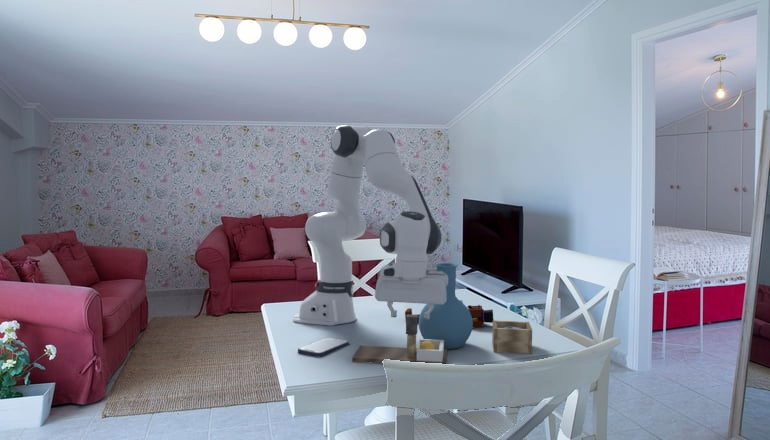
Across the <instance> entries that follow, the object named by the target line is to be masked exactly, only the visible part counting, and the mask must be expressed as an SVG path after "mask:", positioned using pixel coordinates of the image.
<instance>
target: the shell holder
mask: <svg viewBox="0 0 770 440" xmlns="http://www.w3.org/2000/svg"><path fill="white" fill-rule="evenodd" d="M508 326H512V327H516V328H517V327H520V328H525V329H509V328H504V327H508ZM491 340H492V341H491V342H492V349H493V353H506V354H507V353H508V354H528V355H532V353H533V352H532V350H533V329H532V326H531V324H530V322H529V321H519V320H518V321H515V320H493V323H492V339H491Z"/></svg>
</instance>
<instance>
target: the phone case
mask: <svg viewBox="0 0 770 440" xmlns="http://www.w3.org/2000/svg"><path fill="white" fill-rule="evenodd" d="M349 345H350V341H348V340H345V339H341V338H332V337H325V338H322V339H319V340H317V341H314V342H311V343H308V344H306V345H304V346H301V347H298V349H297V353H298V354H300V355H304V356H305V355H306V356H309V357H315V358H322V357H325V356H327V355H329V354H332V353H334V352H336V351H338V350H340V349H342V348H344V347H347V346H349Z"/></svg>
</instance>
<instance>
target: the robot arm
mask: <svg viewBox="0 0 770 440" xmlns="http://www.w3.org/2000/svg"><path fill="white" fill-rule="evenodd" d="M330 138H331V139H330V147H331V150H332V152H333V153H334V156H333V158H332V163H331V167H330V174H329V179H328V184H327V190H326V192H327V195H328V197H329V198H330V199H331V200H333V201H332V202H333V211H322V212H318V213H316V214H315V213H314V214H313V215H310V216H309V217H308V219H307V220H306V222H305V226H304V228H305V234H306V236H307V239H308V240H309V241H310V242H312V243H313V244H314V245H315V247H316V249H317V252H318V256H319V259H320V278H319V279H317V281H316V282H315V284H314V288H315V291H313V292H312V293H310V294H309V296H307V297H305V299H304V300H302V302H301V304H300V307H299V312H298V313H296V314H294V315H293V318H292V321H293V323H300V324H310V325H319V326H331V327H332V326H336V325H341V324H348V323H352V322H355V321H356V320H357V316H356V313H355V307H354V300H353V296H354V280H353V259H352V258H351V256H350V255H349V254H347V253H346V252H345V249H344V246H343V242H349V241H351V242H352V241H353V240H356V239H358V238H361V237H362V236H364V234H365V232H366V229H367V220H366V218H365V216H364V215H363V214H362V212H361V210H360V204H359V203H360V202H359V195H360V188H361V183H362V178H363V171H364V167H365V172H366V176H367V178H368V179H367V180H369V182H370V184H371V185H372V186H374V187H375V188H376V189H378V190H381V191H383V192H387V193H390V194H392V195H394V196H397V197H399V198H401V199H403V200H404V201H405V202H406V203H407V205H408V208H409V210H407V211H402V212H400V213H399V214H398V217H397V218H396V219H395V220H392V221H389V222H386V223H385V224H384V225H383V226H382V228H380V231H379V245H380V247H381V248H382V249H383V250H384V252H385V253H388V254H392V255H395V254H396V259H395V262H393V263H390V264H389V263H388V264H384V266H382V267H381V268H380V270H379V275H380V276H379V277H378V279H377V281H376V283H375V291H374V298H375V300H376V301H377V302H386V303H387V305H386V306H387V307H388V309H389V311H390V317H391V318H397V316H398V315H397V312H398V310H396V309H394V307H393V304H394V303H406V304H407V303H408V304H409V303H410V304H425V305H426V304H429V308H430V309H429V310H428V312H425V313H424V319H430V312H431V311H432V309H433V308H434V304H440V305H443V304H444V303H445V302H446V300H447V294H446V286H447V285H448V276H447V274H446V273H443V271H437V270H430V269H429V270H428V255H432V254H433V253H435V251H436V250H438V248H439V247H440V245H441V244H442V238H443V237H442V232H441V229H440V227H439V226H438V224H437V223H436V220H434V217H433V215H432V213H431V210H430V209H429V207H428V204H427V202H426V200H425V197H424V195H423V192H422V190H421V188H420V186H419V184H418V182H417V180H416V178H415V177H414V176H412V175H411V174H410V173H409V172H408V171H407V170H406V168H404V166H403V164H402V163H401V159H400V155H399V152H398V148H397V147H396V140H395V137H394V135H393V133H391V132H390V131H387V130H384V129H378V128H374V127H371V126H360V125H349V124H343V125H338V126H337V127H336V128H334V130H333V131H332V134H331V137H330ZM443 274H444V275H443Z"/></svg>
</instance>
